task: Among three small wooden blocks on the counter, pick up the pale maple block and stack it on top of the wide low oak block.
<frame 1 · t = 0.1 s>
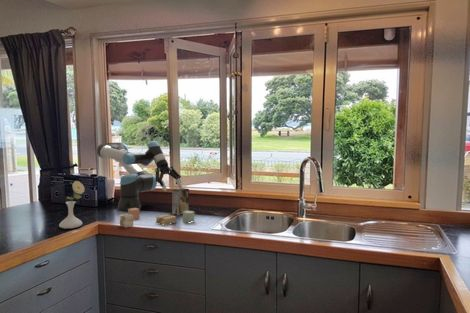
hand: (173, 189, 213), 15 cm above the worktop, tool tilted 35°, fingers open, 13 cm apart
coffee box: (180, 214, 209), on the worktop
flower in vase: (72, 227, 175), on the worktop
oak base: (166, 223, 187), on the worktop
sage block: (188, 221, 190), on the worktop
terracotta block: (133, 218, 195), on the worktop
maple block: (126, 225, 179), on the worktop
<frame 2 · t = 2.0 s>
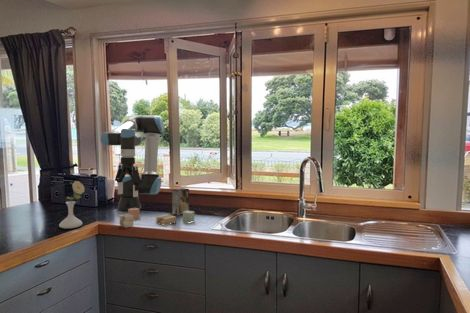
hand: (127, 195, 179), 17 cm above the worktop, tool pointing down, fingers open, 13 cm apart
nothing on the worktop moved.
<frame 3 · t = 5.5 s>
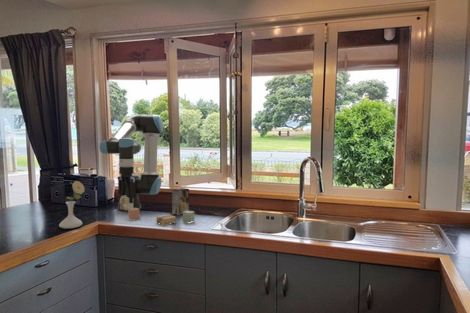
hand: (127, 207, 179), 10 cm above the worktop, tool pointing down, fingers closed on maple block, 5 cm apart
maple block: (126, 208, 179), point 9 cm above the worktop, touching gripper
everything else where it was.
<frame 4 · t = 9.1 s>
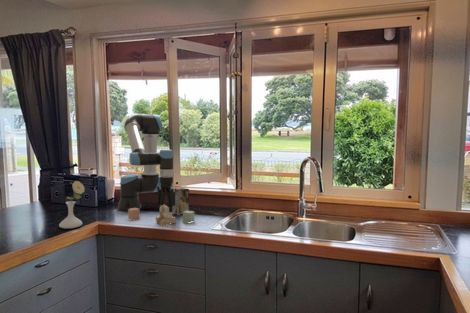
hand: (166, 216, 186), 4 cm above the worktop, tool pointing down, fingers closed on maple block, 5 cm apart
oak base: (165, 224, 186), on the worktop, touching gripper
maple block: (165, 217, 186), point 3 cm above the worktop, touching gripper
everything else where it was.
when the fingers open (4 cm above the worktop, at t = 9.4 s): maple block stays where it is, resting on oak base.
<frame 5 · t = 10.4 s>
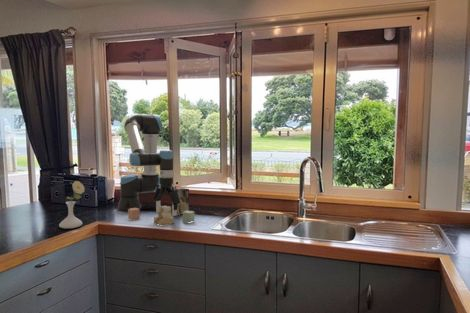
hand: (166, 213, 186), 5 cm above the worktop, tool pointing down, fingers open, 13 cm apart
oak base: (163, 224, 185), on the worktop, touching maple block
maple block: (164, 217, 185), point 4 cm above the worktop, touching oak base
everything else where it was.
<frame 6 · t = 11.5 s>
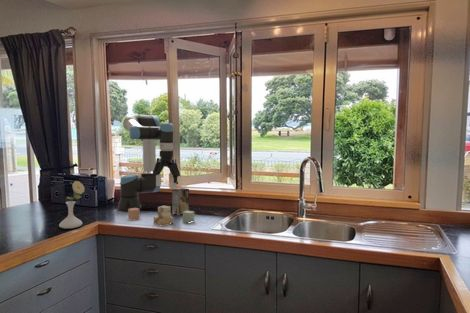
hand: (166, 187, 186), 21 cm above the worktop, tool pointing down, fingers open, 13 cm apart
nothing on the worktop moved.
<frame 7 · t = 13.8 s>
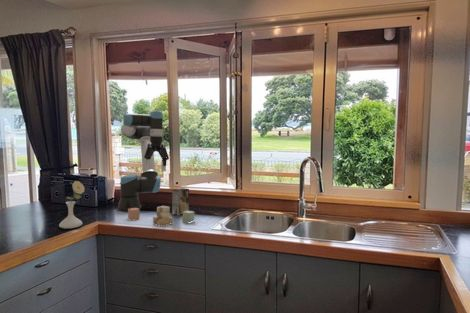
hand: (156, 170, 199), 29 cm above the worktop, tool pointing down, fingers open, 13 cm apart
nothing on the worktop moved.
at the end: maple block 0.3 cm off-centre on the oak base, point 4.0 cm above the oak base's base; maple block tilted 0°; the gripper is holding nothing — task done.
